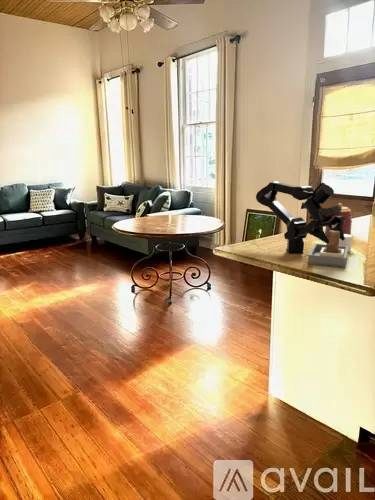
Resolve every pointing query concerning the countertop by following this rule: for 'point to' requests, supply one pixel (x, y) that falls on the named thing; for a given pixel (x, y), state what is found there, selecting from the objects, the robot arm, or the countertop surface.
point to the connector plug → (333, 241)
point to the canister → (347, 215)
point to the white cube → (346, 241)
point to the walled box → (328, 256)
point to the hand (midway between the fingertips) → (336, 241)
